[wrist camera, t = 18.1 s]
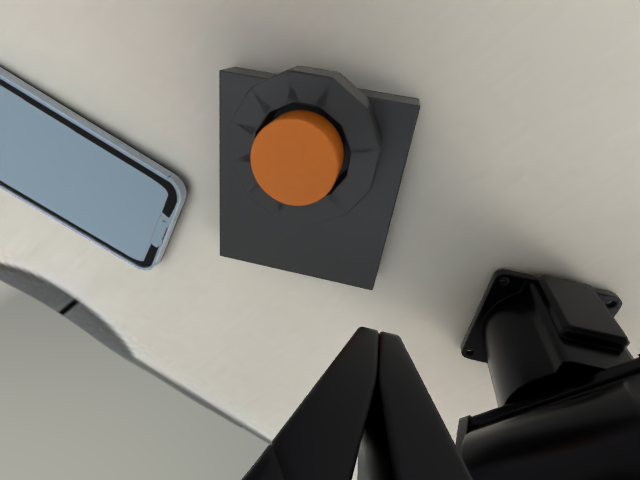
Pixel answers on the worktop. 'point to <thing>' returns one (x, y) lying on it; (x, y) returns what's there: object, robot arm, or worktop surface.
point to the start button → (297, 157)
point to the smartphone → (85, 176)
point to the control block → (346, 194)
